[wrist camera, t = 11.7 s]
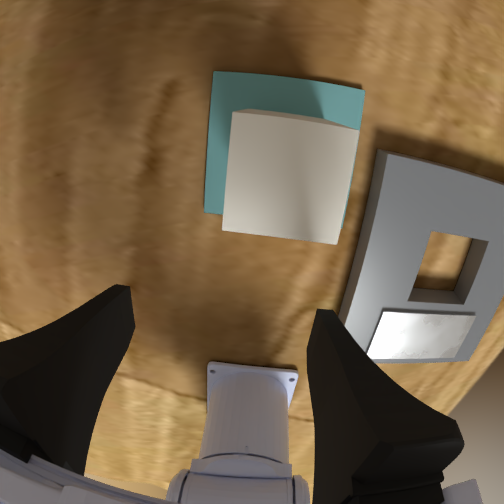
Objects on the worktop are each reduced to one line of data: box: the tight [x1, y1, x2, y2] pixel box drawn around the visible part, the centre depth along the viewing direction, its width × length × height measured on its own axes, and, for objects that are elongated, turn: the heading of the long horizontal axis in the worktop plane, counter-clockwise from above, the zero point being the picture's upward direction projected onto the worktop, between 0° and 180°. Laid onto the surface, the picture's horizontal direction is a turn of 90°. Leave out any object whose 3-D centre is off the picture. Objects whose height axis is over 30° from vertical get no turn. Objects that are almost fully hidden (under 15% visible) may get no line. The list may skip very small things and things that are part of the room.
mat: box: [204, 71, 365, 228], centre depth 19 cm, size 9×9×1 cm
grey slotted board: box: [338, 149, 504, 363], centre depth 21 cm, size 16×14×2 cm
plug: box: [222, 109, 359, 245], centre depth 15 cm, size 4×4×8 cm
